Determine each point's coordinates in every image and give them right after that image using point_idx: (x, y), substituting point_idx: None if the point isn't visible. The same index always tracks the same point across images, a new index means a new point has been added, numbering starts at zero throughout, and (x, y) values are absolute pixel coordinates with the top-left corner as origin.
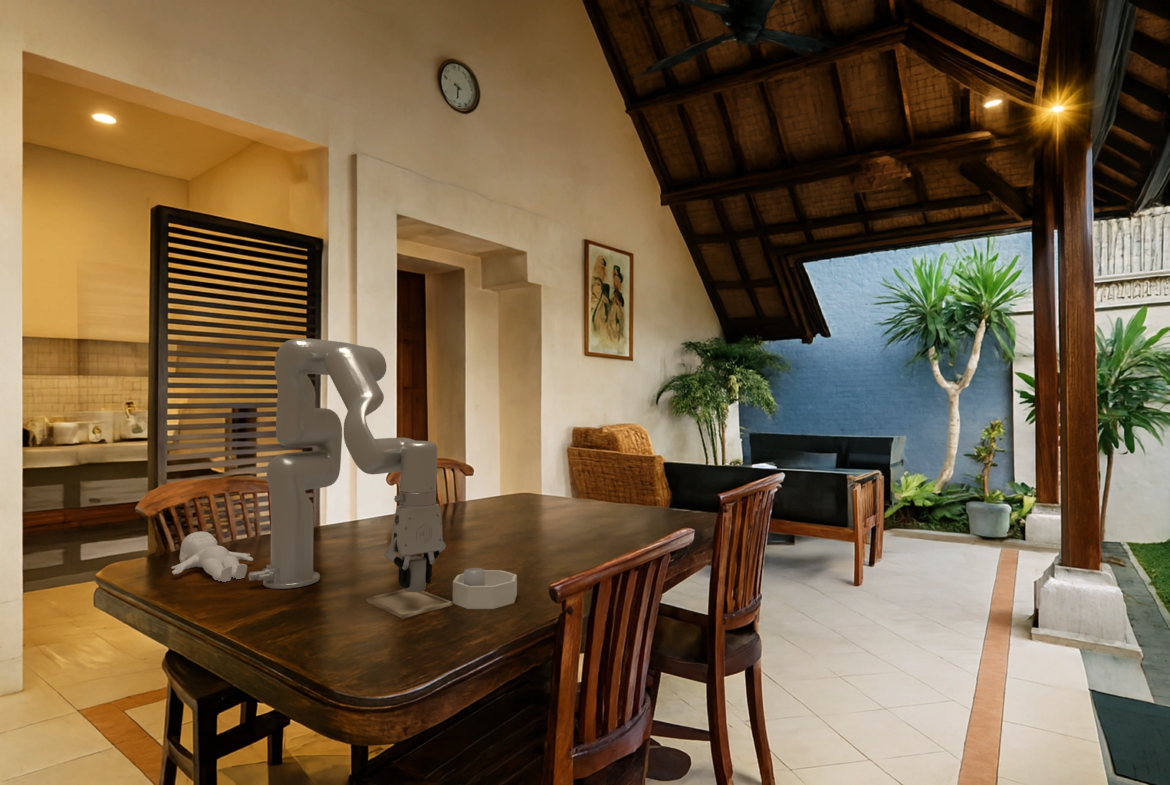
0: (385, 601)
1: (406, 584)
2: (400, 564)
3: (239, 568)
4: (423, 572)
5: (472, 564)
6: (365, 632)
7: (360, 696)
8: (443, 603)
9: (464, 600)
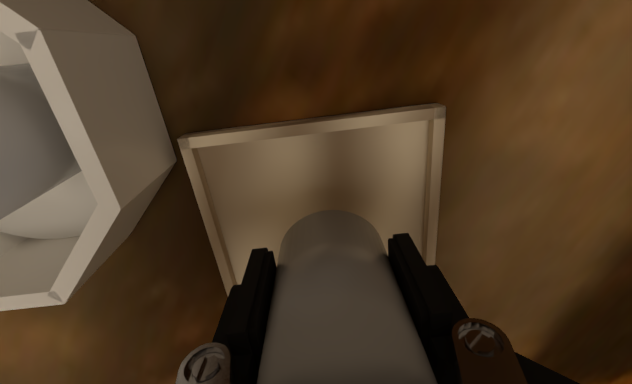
0: None
1: (412, 247)
2: (527, 372)
3: None
4: (309, 279)
5: None
6: (627, 54)
7: None
8: (212, 179)
9: (121, 66)
